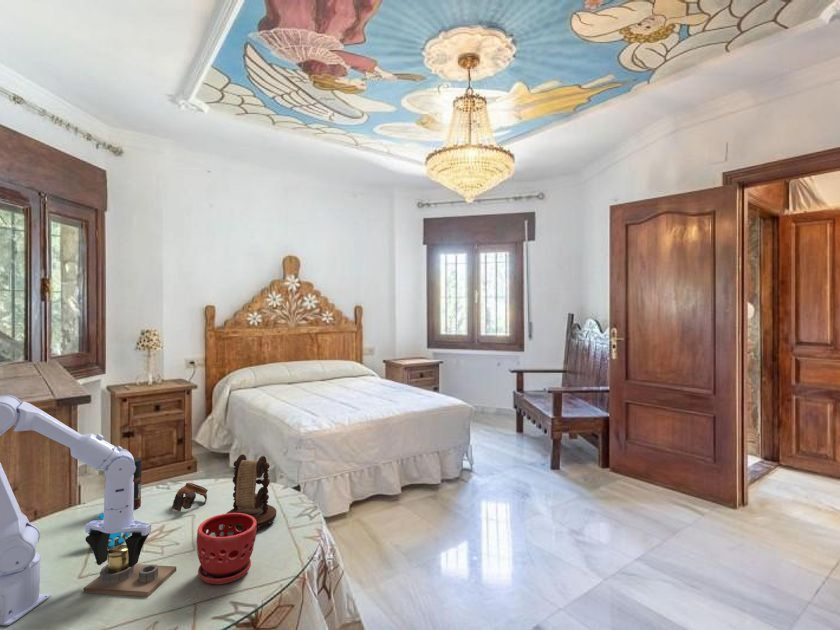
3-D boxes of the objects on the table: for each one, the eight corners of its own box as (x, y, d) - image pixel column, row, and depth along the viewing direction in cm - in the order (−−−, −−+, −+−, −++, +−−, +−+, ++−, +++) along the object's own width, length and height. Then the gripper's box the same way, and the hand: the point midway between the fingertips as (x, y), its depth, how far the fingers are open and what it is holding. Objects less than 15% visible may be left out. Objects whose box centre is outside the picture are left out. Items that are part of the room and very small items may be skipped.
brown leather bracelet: (169, 505, 146) (183, 479, 149) (198, 514, 148) (211, 489, 152) (168, 509, 135) (183, 482, 139) (199, 520, 138) (212, 492, 141)
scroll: (212, 531, 127) (213, 461, 128) (241, 509, 142) (243, 446, 142) (259, 537, 125) (261, 465, 125) (285, 514, 139) (286, 450, 139)
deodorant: (120, 505, 144) (121, 458, 144) (142, 502, 146) (143, 456, 146) (116, 512, 138) (117, 464, 138) (139, 509, 141) (140, 461, 141)
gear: (88, 549, 114) (90, 511, 120) (83, 559, 116) (85, 522, 122) (138, 541, 121) (137, 505, 127) (132, 551, 124) (131, 516, 130)
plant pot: (190, 594, 99) (191, 540, 99) (201, 562, 112) (202, 514, 112) (253, 585, 103) (254, 533, 103) (257, 555, 115) (258, 509, 115)
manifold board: (148, 596, 98) (148, 582, 98) (83, 592, 99) (83, 578, 99) (176, 570, 108) (176, 558, 108) (116, 567, 109) (117, 554, 109)
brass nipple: (121, 580, 102) (121, 554, 102) (102, 580, 102) (103, 553, 102) (132, 570, 106) (133, 544, 106) (115, 569, 106) (115, 544, 106)
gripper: (160, 499, 107) (159, 556, 107) (102, 496, 108) (101, 552, 108) (139, 512, 100) (138, 572, 100) (78, 509, 101) (77, 569, 101)
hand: (117, 563), depth 104 cm, fingers open, 7 cm apart
